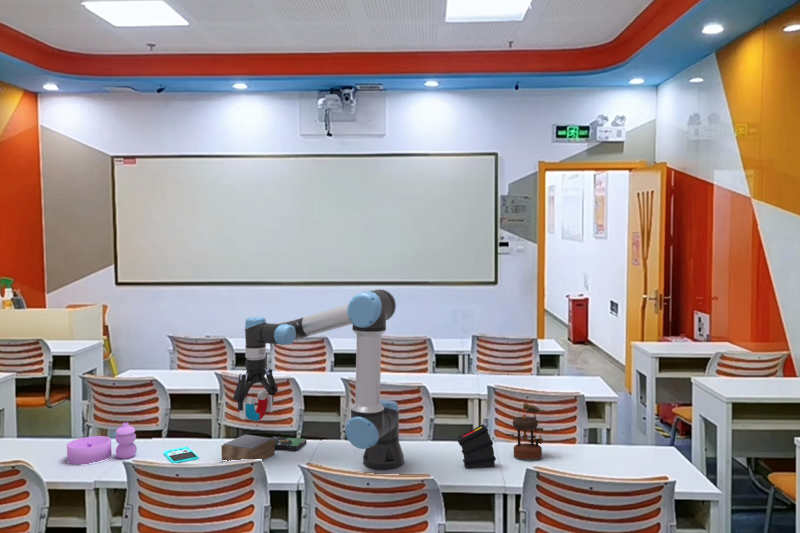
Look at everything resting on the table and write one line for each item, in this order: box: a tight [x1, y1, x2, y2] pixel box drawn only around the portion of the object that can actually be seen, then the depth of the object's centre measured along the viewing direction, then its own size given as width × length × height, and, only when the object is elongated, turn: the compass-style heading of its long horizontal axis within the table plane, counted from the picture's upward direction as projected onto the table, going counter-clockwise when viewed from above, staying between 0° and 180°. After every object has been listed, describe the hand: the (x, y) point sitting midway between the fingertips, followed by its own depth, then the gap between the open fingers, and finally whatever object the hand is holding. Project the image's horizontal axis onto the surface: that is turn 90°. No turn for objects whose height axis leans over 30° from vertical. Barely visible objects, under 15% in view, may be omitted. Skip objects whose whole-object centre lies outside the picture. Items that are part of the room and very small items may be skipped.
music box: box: [505, 402, 546, 460], centre depth 238 cm, size 15×11×20 cm
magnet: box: [244, 390, 268, 422], centre depth 238 cm, size 12×3×10 cm, turn 159°
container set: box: [66, 422, 138, 465], centre depth 243 cm, size 25×15×13 cm, turn 95°
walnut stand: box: [221, 434, 276, 461], centre depth 241 cm, size 14×14×6 cm
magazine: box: [457, 423, 497, 469], centre depth 228 cm, size 4×13×15 cm, turn 96°
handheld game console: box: [163, 446, 200, 464], centre depth 244 cm, size 10×16×1 cm, turn 34°
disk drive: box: [271, 436, 308, 453], centre depth 254 cm, size 10×3×15 cm
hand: (256, 415), depth 238 cm, fingers closed on magnet, 12 cm apart
